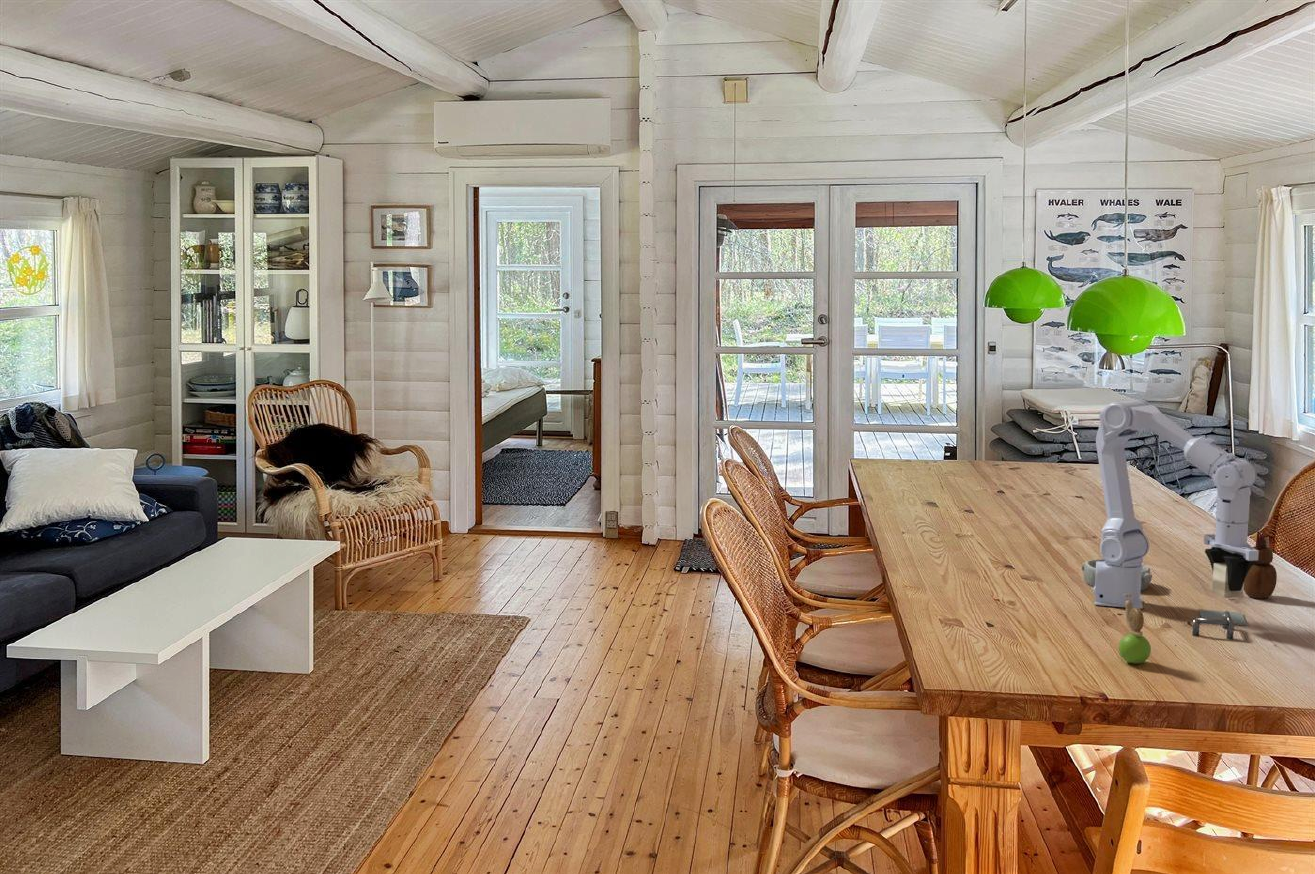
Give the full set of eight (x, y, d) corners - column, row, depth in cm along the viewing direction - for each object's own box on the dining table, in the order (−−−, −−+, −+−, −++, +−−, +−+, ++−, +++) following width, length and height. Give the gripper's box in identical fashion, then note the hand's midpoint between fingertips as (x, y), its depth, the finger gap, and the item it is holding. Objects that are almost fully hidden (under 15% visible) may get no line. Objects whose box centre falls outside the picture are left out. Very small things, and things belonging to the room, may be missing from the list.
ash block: (1224, 597, 219) (1226, 567, 218) (1212, 592, 223) (1213, 563, 222) (1243, 596, 219) (1245, 567, 218) (1230, 591, 223) (1232, 562, 222)
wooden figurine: (1255, 601, 240) (1260, 533, 238) (1235, 594, 245) (1239, 528, 243) (1281, 598, 241) (1285, 531, 239) (1260, 592, 247) (1264, 526, 245)
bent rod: (1192, 635, 217) (1193, 617, 217) (1189, 623, 225) (1190, 606, 224) (1233, 639, 214) (1234, 621, 214) (1228, 627, 222) (1229, 609, 222)
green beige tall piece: (1139, 655, 206) (1142, 593, 204) (1155, 667, 199) (1158, 602, 198) (1110, 656, 206) (1113, 593, 204) (1125, 668, 199) (1128, 603, 198)
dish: (1159, 593, 248) (1160, 571, 247) (1096, 593, 248) (1097, 572, 247) (1133, 576, 262) (1134, 556, 261) (1074, 577, 262) (1075, 556, 262)
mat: (1202, 621, 226) (1202, 619, 226) (1198, 610, 233) (1199, 609, 233) (1246, 625, 223) (1246, 623, 223) (1241, 614, 230) (1241, 612, 230)
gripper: (1191, 513, 225) (1188, 578, 227) (1235, 529, 211) (1231, 598, 213) (1224, 512, 226) (1220, 577, 228) (1270, 527, 212) (1265, 596, 214)
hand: (1227, 587), depth 221 cm, fingers closed on ash block, 4 cm apart
